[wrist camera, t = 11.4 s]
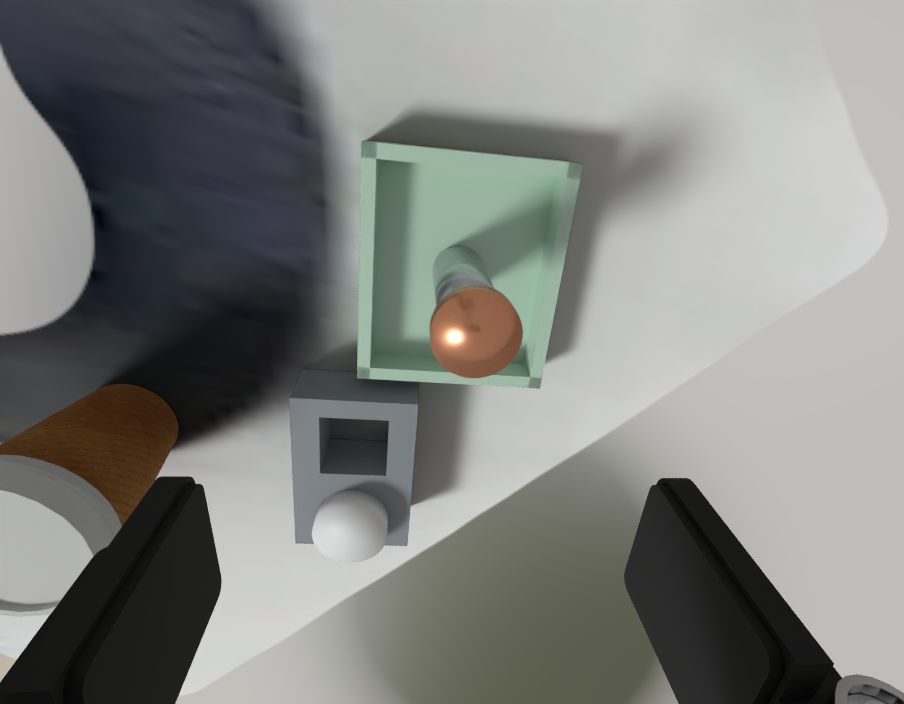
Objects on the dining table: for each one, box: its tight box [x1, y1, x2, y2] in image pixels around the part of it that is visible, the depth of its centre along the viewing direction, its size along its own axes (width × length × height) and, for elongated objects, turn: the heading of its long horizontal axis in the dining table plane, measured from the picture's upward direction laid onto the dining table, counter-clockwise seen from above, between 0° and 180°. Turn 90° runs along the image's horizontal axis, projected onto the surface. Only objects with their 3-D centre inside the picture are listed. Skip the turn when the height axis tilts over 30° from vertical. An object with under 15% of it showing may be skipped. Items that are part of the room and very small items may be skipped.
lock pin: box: [430, 245, 523, 378], centre depth 26 cm, size 4×4×11 cm
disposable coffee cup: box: [0, 384, 179, 617], centre depth 29 cm, size 10×10×12 cm
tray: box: [357, 140, 583, 388], centre depth 30 cm, size 14×12×3 cm
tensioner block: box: [289, 369, 418, 562], centre depth 34 cm, size 12×8×6 cm, turn 174°
